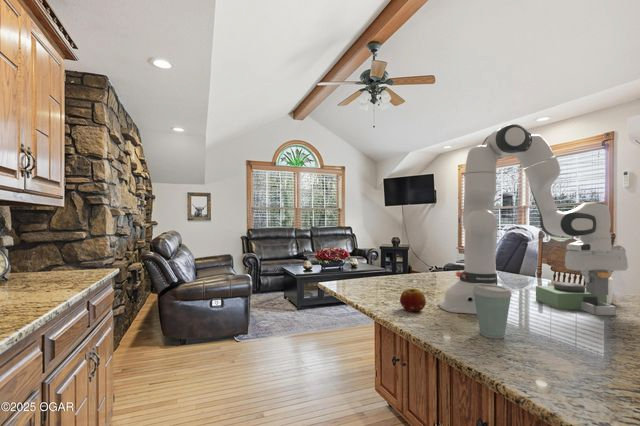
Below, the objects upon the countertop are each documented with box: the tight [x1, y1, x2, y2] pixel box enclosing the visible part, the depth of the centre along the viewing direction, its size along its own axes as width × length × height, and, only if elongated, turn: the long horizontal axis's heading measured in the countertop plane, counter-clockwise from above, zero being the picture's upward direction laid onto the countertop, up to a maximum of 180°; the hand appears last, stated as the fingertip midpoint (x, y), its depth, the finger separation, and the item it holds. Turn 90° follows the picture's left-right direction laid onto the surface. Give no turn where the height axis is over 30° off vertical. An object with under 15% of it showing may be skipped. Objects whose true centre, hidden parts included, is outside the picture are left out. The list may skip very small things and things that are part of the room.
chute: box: [585, 270, 611, 295], centre depth 120 cm, size 6×4×9 cm
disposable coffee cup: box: [472, 283, 512, 340], centre depth 97 cm, size 11×11×15 cm
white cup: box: [607, 277, 614, 305], centre depth 135 cm, size 8×8×10 cm
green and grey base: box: [535, 281, 617, 316], centre depth 128 cm, size 18×21×8 cm
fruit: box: [399, 288, 427, 313], centre depth 125 cm, size 10×9×8 cm
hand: (596, 282), depth 121 cm, fingers closed on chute, 4 cm apart
